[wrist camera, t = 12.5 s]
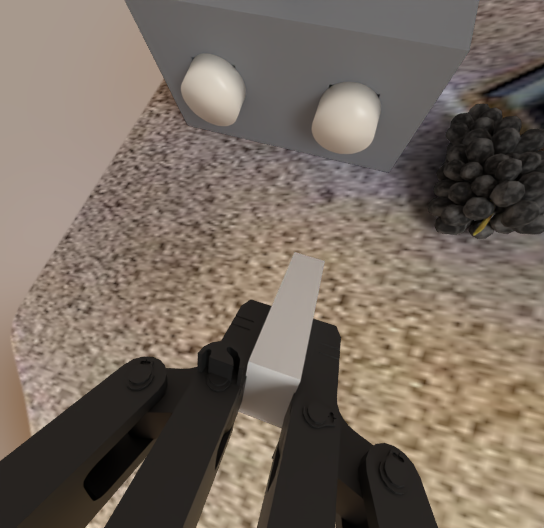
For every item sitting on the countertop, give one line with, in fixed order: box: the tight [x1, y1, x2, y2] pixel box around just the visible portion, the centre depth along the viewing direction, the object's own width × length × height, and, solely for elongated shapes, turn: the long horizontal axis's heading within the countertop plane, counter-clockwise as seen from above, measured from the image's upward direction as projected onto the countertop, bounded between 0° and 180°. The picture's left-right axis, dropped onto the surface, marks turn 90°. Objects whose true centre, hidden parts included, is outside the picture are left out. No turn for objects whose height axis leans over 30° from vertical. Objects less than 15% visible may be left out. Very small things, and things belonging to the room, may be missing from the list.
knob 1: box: [181, 53, 246, 126], centre depth 24 cm, size 5×7×5 cm
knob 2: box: [312, 82, 381, 154], centre depth 23 cm, size 5×7×5 cm
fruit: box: [428, 104, 544, 239], centre depth 24 cm, size 9×8×15 cm
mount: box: [125, 0, 479, 173], centre depth 24 cm, size 24×8×13 cm, turn 72°
